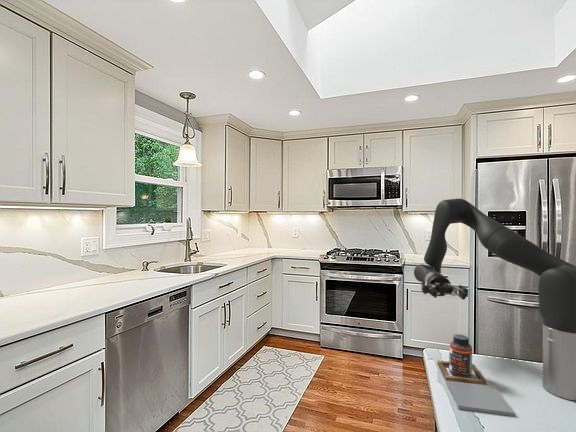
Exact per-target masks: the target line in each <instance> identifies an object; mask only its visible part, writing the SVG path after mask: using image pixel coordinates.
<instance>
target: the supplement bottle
mask: <svg viewBox="0 0 576 432" xmlns="http://www.w3.org/2000/svg"><path fill="white" fill-rule="evenodd" d="M452 339H453V340H451V341H450V342H449V351H448V352H449V355H448V356H449V358H448V359H449V361H448V362H449V369H448V371H449V373H450V375H451V376H456V377H465V378H472V376H473V375H472V374H473V371H472V364H473V347H472V345H471V344H470V343H469V342H470V340H469V336H467V335H464V334H454V335H453V338H452Z"/></svg>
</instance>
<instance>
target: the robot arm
mask: <svg viewBox="0 0 576 432" xmlns="http://www.w3.org/2000/svg"><path fill="white" fill-rule="evenodd" d="M433 216H434V217H433V222H432V229H431V235H430V239H429V242H428V245H427V249H426V251H425V254H424V256H423V261H424V263H425V264H417V265H416V266H415V267H414V269H413V275H414V278H415V279H416V280H417V281H418V282H420V283H421V288H420V290H421V292H422V293H423V294H424V295H428V294H429V295H430V296H431V297H433V298H438V297H445V296H447V295H449V296H452V297H456V296H457V297H459V299H461V300H463V301H464V300H466V298H467V297H468V298H469V288H468V287H465V286H463V285H461V284H459V285H458V286H456V285H454V284H452V283H451V282H450V280H449V279H448V278H447V276H445V275H443V274H442V264H443V261H444V258H445V256H446V254H447V251H448V244H447V239H446V232H447V230H448V228H449V226H450V225H451V224H459V223H460V224H463V225H465V226H467V227H469V228H470V229H472V230H473V231H474V232H475V233H476V235H477V237H478V240H479V242H480V244H481V245H482V246H483V247H484V248H485V249H486V250H488V251H489V252H490V253H492V254H494V255H495V256H496V257H498V258H500V259H502V260H503V261H506V262H507V263H510V264H511V265H512V264H513V265H515V266H518V267H521V268H524V269H526V270H528V271H531V272H532V273H534V274H536V275H538V276H539V279H538V285H537V286H538V287H537V289H538V290H537V291H538V307H539V308H538V309H539V313H540V315H541V318H542V378H541V379H542V387H543V388H544V390H546V391H547V392H548V393H551V394H553V396H554V395H555V396H556V397H560V398H562V399H566V400H571V401H576V265H574V264H572V263H570V262H568V261H565V260H564V259H561V258H559V257H557V256H555V255H554V254H551V253H550V252H547V251H546V250H544V249H543V248H541V247H540V246H538V245H536V244H535V243H533V242H531V241H530V240H528V239H526V238H525V237H523V236H522V235H521V234H519V233H518V232H516V231H514V230H512V229H510V228H509V227H507V226H505V225H504V224H502V223H501V222H498V221H497V220H495V219H493V218H492V217H490V216H489V215H487V214H485V213H484V212H482V211H481V210H479V209H478V208H477V207H476V206H474V205H473V204H472V203H471V202H469V201H468V200H466V199H463V198H449V199H444V200H441V201H439V202H438V204H437V205H436V208H435V210H434V215H433Z"/></svg>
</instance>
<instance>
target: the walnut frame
mask: <svg viewBox="0 0 576 432" xmlns="http://www.w3.org/2000/svg"><path fill="white" fill-rule="evenodd" d="M436 363H437V366H438V369H439V370H440V372H441V375H442V376H443V378H444V382H446V381H454V382H463V383H472V384H481V385H488V381H487V380H486V378H485V377H484V375H482V373H481V372H480V371H479V369H478V367H477V366H476V365H475V363H472V373H473V374H474V373H475V374H474V375H475V377H476V378H473V377H470V378H465V377H456V376H454V375H449V374H448V372H447V369H446V368H447V367H449V361H446V360H437V362H436ZM445 367H446V368H445Z"/></svg>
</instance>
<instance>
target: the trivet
mask: <svg viewBox="0 0 576 432" xmlns="http://www.w3.org/2000/svg"><path fill="white" fill-rule="evenodd" d="M445 385H446V388H447V389H448V391H449V392H450V395H451V397H452V398H453V399H452V400H453V401H454V404H455V405H456V407H457V409H459V410H464V411H465V410H466V411H473V412H480V413H487V414H494V415H495V414H496V415H503V416H509V417H510V416H511V417H515V412H514V411H513V409H512V408H511V406H509V404H508V403H507V402H506V400H505V399H504V397H503V396H502V395H501V394H500V392H499V391H498V389H497V388H496V387H495V386H494V385H488V384H487V385H481V384H472V383H463V382H454V381H445Z"/></svg>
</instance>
